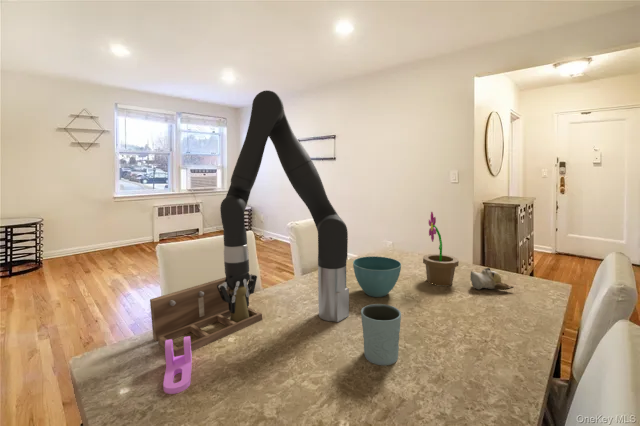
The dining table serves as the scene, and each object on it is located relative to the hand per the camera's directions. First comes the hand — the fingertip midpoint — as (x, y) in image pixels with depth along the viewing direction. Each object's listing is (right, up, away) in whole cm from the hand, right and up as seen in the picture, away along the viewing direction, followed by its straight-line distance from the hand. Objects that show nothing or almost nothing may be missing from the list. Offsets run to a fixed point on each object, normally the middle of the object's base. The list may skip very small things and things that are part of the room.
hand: (239, 309), depth 103 cm
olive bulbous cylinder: (0, -3, 0) cm, 3 cm away
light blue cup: (+42, -6, -20) cm, 47 cm away
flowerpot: (+77, +2, +34) cm, 84 cm away
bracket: (-8, -8, -27) cm, 29 cm away
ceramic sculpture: (+94, +1, +26) cm, 97 cm away
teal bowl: (+48, 0, +22) cm, 53 cm away
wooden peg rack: (-7, -4, -5) cm, 10 cm away
